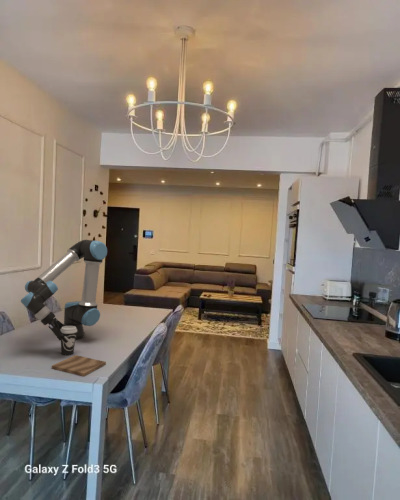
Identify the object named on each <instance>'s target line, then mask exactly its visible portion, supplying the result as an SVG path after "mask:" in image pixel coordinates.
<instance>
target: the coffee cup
mask: <svg viewBox="0 0 400 500" xmlns="http://www.w3.org/2000/svg"><path fill="white" fill-rule="evenodd" d="M60 330H61V332H62V333H63V335H64V336H66V337H67V338H68V339H69V340H70V341H71V342H72V343H73V345H72V346H71V347H70V348H69V347H68V346H67V345H66V344H65V343H64V342H63V341H62V340H60V351H61V352H60V354H61V356H72V355H74V352H75V346H76V345H75V344H76V340H77V339H76V333H77V329H76V327H75V326H64V327H62V328H61V329H60Z"/></svg>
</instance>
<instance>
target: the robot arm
mask: <svg viewBox="0 0 400 500" xmlns="http://www.w3.org/2000/svg"><path fill="white" fill-rule="evenodd" d="M107 255H108V248H107V246H106V244H105V243H104V242H102V241H100V240H93V239H92V240H91V239H83V240H80V241H78V242H76V243H75V244H73V245H71V247H69V248H68V249H67V252H66V253H65V254H64V255H62V256H61V257H60V258H59V259H58V260H56V261H55V262H54V263H52V264H51V265H50V267H48V268H47V269H46V270H45V271H43V272H42V273H41V274H39V276H37V277H36V278H34V280H28V281H27V282H26V283H25V285H24V290H25V292H27V294H26V295H25V296H24V297H22V298H21V300H20V303H21V304H22V305H23V306H24V307H25V308H26V309H27V310H28V311H29V312H30V313H31V314H33V316H34V318H35V319H38V320H39V321H40V322H41V324H43V326H47V325H48V327H47V328H49V329H50V330H51V332H52V333H53V334H54V335H55V337H56V338H57V339H58V341H59V342H61V340H62V341H63V342H64V343H65V344H66V345H67V346H68V347H69V348H70V347H71V346H72V345H73V343H72V342H71V341H70V340H69V339H68V338H67V337H66V336H64V335H63V333H62V332H61V330H60V329H61V328H62V327H64V326H75V327H76V329H77V333H76V339H75V340H79V339H82V338H84V337H85V336H86V335H85V334H86V333H85V330H84V326H86V327H93V326H94V325H96V324H97V323H98V322H99V320H100V317H101V312H100V310H99V309H98V303H97V302H96V300H97V289H98V282H99V281H98V280H99V274H100V273H99V272H100V265H102V263H103V260H104V259H105V258H106V257H107ZM81 259H83V262H84V264H85V267H84V277H83V286H82V291H81V292H82V293H81V300H77V301H76V300H75V301H69V302H66V303H65V305H64V308H63V309H64V314H63V316H64V317H63V322H61V321H60V320H58V319H57V318H56V315H55V313H53V312H52V311H51V310H50V308H48V307H47V306H46V305H45V302H46V301H48V299H49V298H51V297H53V295H55V293H56V292H57V291H58V290H59V288H58V286H57V284H56V283H55V282H54V280H56V279H57V278H58V277H59V276H61V274H63V273H64V272H65V271H66V270H67V269H68V268H70V267H71V266H72V265H73V264H74V263H75V262H78V261H80V260H81Z"/></svg>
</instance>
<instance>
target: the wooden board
mask: <svg viewBox="0 0 400 500" xmlns="http://www.w3.org/2000/svg"><path fill="white" fill-rule="evenodd" d="M106 364H107V362H106V361H104V360H100V359H95V358H90V357H86V356H82V355H77V354H73V356H72V355H71V356H70V357H68V358H66V359H63V360H61V361H60V362H59V361H58V362H57V363H54V364H52V365H51V369H52V370H56V371H60V372H64V373H67V374H68V373H69V374H71V375H72V374H73V375H76V376H79V377H80V376H81V377H86V376H87V375H89V374H91V373H93V372H95V371H97V370H99V369H100V368H102V367H105V366H106Z"/></svg>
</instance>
